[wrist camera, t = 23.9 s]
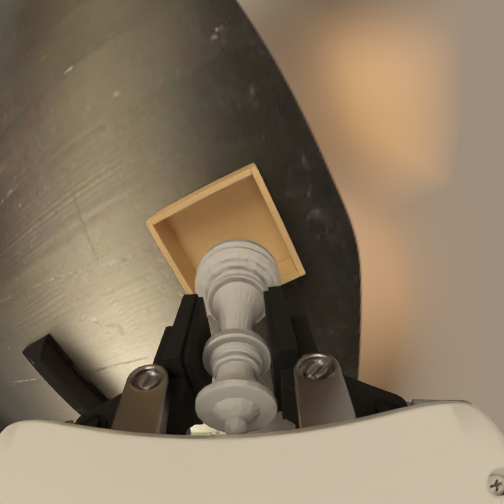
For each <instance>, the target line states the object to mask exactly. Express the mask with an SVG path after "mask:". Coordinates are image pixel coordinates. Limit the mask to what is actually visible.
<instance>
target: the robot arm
mask: <svg viewBox="0 0 504 504" xmlns="http://www.w3.org/2000/svg"><path fill="white" fill-rule="evenodd" d="M263 295H264V306H265V317H266V329H267V340H268V345H269V347H270V355H271V364H270V366H271V374H272V383H273V391H274V395H275V397H276V399H277V405H278V410H277V412H279V411H282V416H283V419H287V420H288V421H290V422H292V423H294V429H291V430H283V431H274V432H263V433H251V434H234V435H191V430H190V428H191V427H192V426H193V425H195V424H203V422H202V421H201V419H200V418H199V417H198V415H197V413H196V410H195V400H196V397H197V395H198V393H199V392H200V391H201V390H202V389H203V388H204V387H206V386H208V385H210V384H212V376H211V375H210V374H209V373H208V372H207V371H206V369H205V368H204V365H203V361H202V353H203V348H204V346H205V343H206V342H207V341H208V339H209V338H210V337H211V333H210V328H209V323H208V318H207V313H206V308H205V303H204V299H203V297H199V296H198V294H188V295H184V296H183V298H182V301H181V304H180V307H179V310H178V313H177V316H176V318H175V321H174V324H173V326H168V327H166V329H165V331H164V334H163V336H162V339H161V342H160V345H159V348H158V350H157V353H156V356H155V359H154V362H153V364H150V365H144V366H141V367H138V368H137V369H135V370H134V371H133V372H132V373H130V375H129V377H128V378H127V381H126V384H125V387H124V390H123V393H122V394H120V395H118V396H116V397H114V398H112V399H111V400H109V401H107V402H105V403H103V404H101V405H99V406H98V407H96V408H94V409H92V410H90V411H88V412H86V413H84V414H83V415H81V416H80V417H79V418H78V419H77V421H76V423H74V422H73V420H71V421H65V422H59V421H50V420H27V421H20V422H16V423H13V424H11V425H9V426H7V427H6V428H5V429H4V430H3V431H2V432H1V434H0V504H504V436H503V435H502V433H501V432H500V430H499V429H498V428H497V426H496V425H495V424H494V423H493V422H492V421H491V419H490V418H489V417H488V416H487V415H486V414H485V413H484V412H483V411H482V410H480V409H479V408H477V407H476V406H474V405H472V404H471V403H469V402H467V401H464V400H415V399H413V400H412V402H411V403H408V402H406V401H405V400H404V399H403V398H402V397H400V396H398V395H396V394H393V393H391V392H388V391H385V390H382V389H379V388H377V387H374V386H371V385H369V384H366V383H363V382H361V381H358V380H355V379H353V378H350V377H348V376H345V375H343V374H342V371H341V368H340V364H339V363H338V361H337V359H335V358H334V357H333V356H331V355H329V354H326V353H321V352H318V351H317V348H316V345H315V342H314V339H313V336H312V333H311V330H310V327H309V325H308V322H307V319H306V316H305V315H304V314H303V315H295V316H290V315H289V311H288V308H287V304H286V300H285V296H284V293H283V289H282V286H273V287H268V291H263Z"/></svg>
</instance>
